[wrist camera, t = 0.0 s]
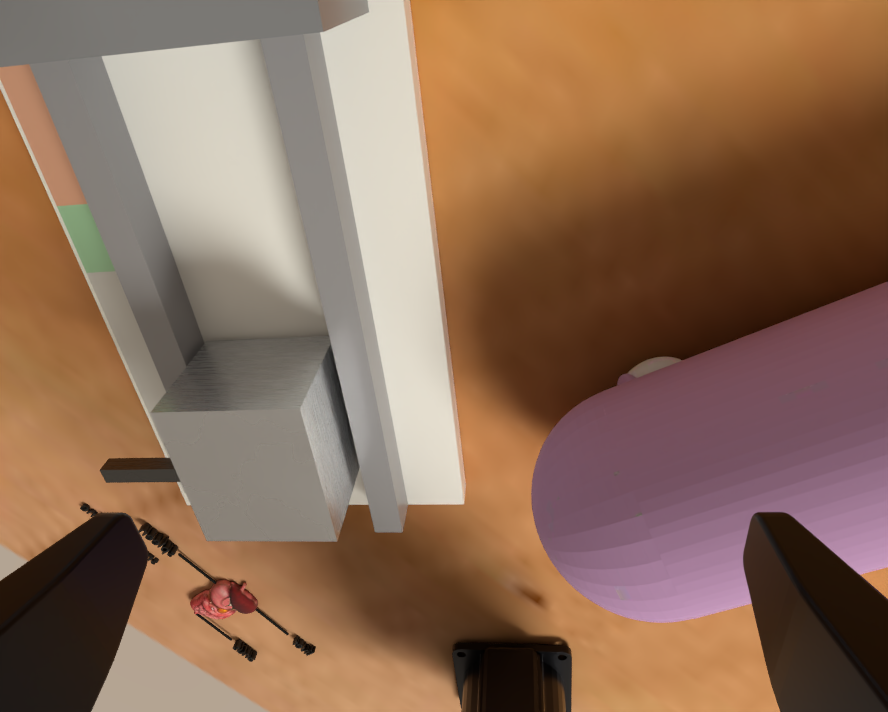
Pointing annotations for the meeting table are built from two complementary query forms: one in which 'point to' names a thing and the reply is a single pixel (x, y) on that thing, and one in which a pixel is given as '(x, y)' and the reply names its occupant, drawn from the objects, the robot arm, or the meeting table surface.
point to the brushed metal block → (256, 441)
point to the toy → (722, 463)
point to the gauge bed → (252, 201)
